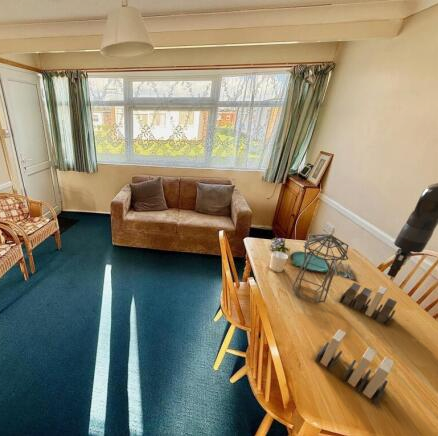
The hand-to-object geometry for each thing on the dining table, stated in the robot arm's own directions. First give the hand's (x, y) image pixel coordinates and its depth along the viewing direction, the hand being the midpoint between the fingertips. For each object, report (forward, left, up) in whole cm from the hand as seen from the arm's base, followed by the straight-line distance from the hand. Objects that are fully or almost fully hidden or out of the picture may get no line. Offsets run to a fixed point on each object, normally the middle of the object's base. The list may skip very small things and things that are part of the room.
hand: (393, 271), depth 91 cm
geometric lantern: (+21, +10, -25) cm, 34 cm away
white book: (0, -2, -24) cm, 24 cm away
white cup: (+41, +1, -25) cm, 48 cm away
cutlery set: (+28, -23, -25) cm, 44 cm away
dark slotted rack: (-4, +39, -24) cm, 46 cm away
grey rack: (+2, -2, -24) cm, 25 cm away
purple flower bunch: (+50, -19, -25) cm, 59 cm away
